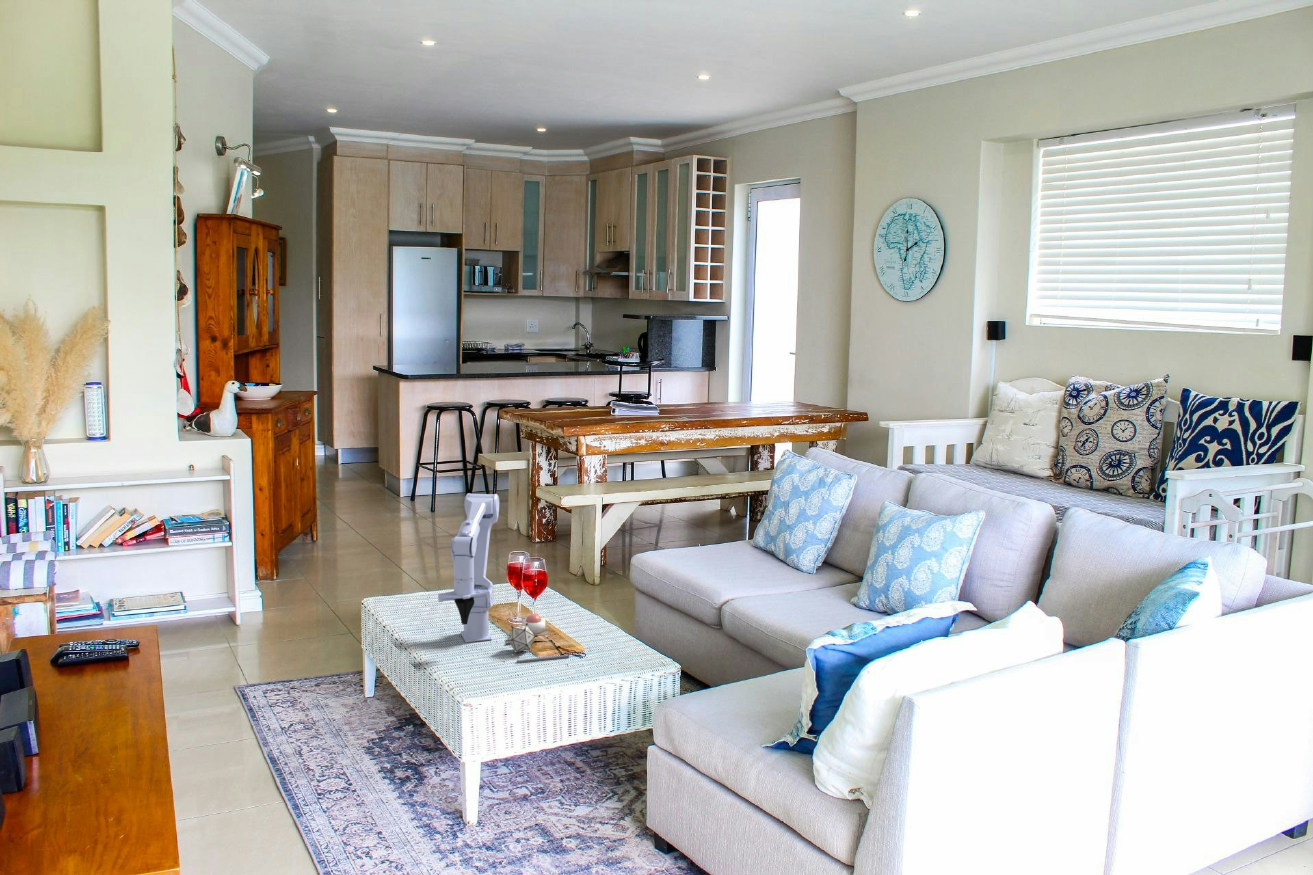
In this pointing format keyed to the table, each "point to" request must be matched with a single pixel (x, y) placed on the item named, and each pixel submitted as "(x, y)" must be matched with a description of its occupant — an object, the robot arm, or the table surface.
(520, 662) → the frame
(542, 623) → the dome
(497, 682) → the table surface
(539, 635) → the dome base
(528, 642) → the game die
